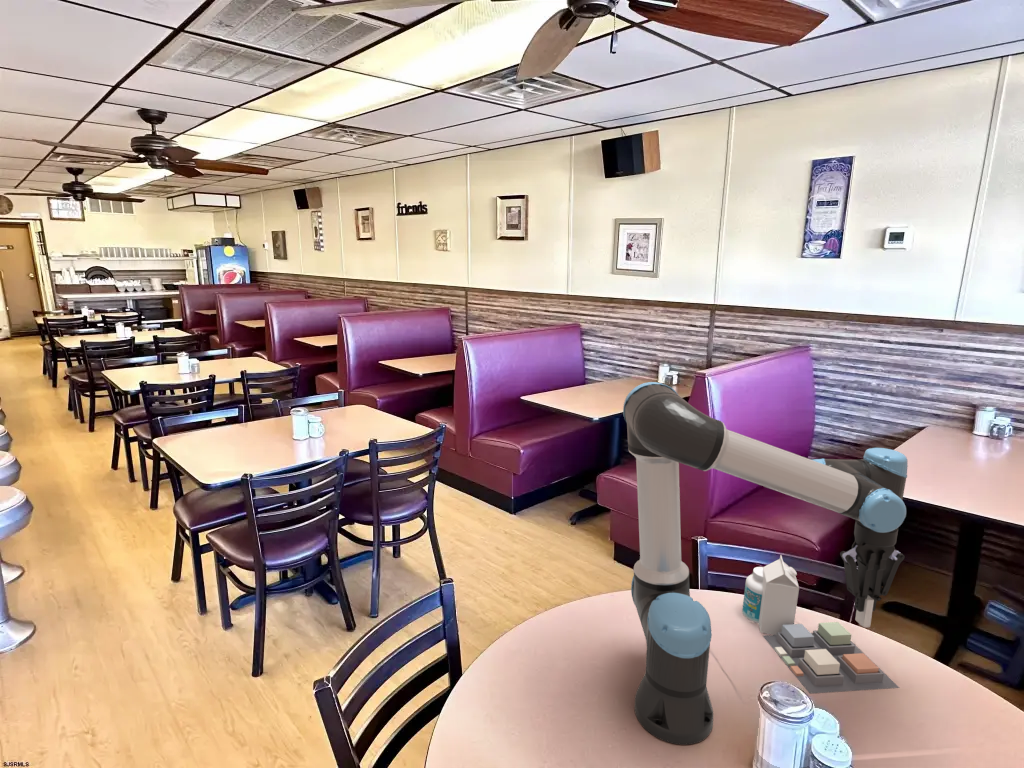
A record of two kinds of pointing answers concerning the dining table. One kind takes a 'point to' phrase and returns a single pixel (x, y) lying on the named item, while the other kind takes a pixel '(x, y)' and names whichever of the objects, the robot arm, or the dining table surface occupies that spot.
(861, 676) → the keypad
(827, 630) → the sage key
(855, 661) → the terracotta key
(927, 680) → the dining table surface
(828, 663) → the cream key
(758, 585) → the pill bottle
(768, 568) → the milk carton
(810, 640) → the slate key
